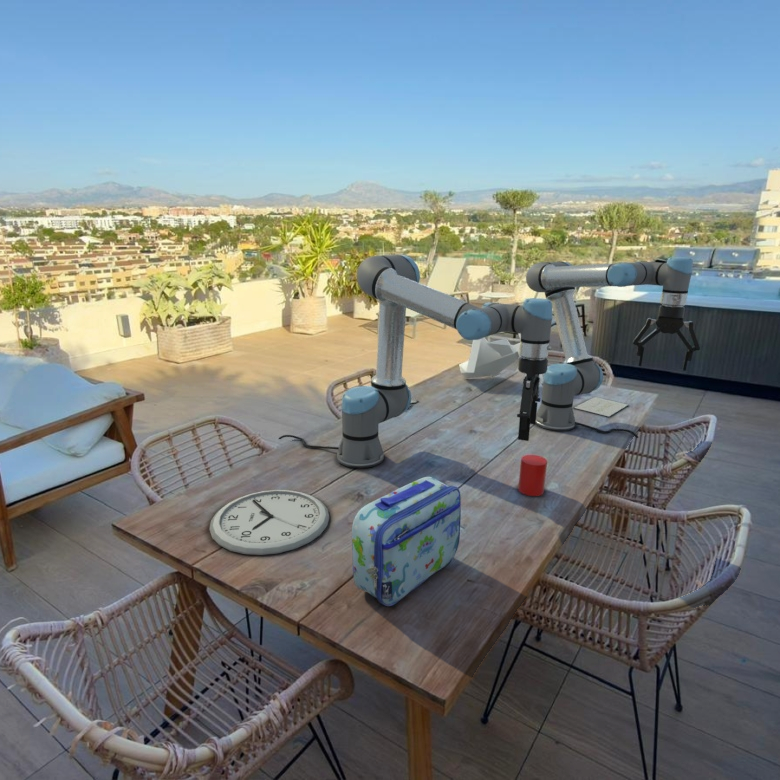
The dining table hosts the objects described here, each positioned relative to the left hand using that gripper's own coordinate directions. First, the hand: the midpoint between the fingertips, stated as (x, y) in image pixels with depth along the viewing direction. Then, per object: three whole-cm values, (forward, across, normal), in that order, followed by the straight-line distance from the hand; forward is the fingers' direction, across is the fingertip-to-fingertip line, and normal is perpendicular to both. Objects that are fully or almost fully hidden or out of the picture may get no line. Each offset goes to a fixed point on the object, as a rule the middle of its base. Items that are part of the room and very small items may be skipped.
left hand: (527, 431), depth 146 cm
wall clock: (+18, -42, +57) cm, 74 cm away
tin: (+19, +2, -2) cm, 19 cm away
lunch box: (+19, -50, +17) cm, 56 cm away
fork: (+18, +59, +56) cm, 83 cm away
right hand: (-9, +56, -36) cm, 67 cm away
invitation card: (+19, +92, -20) cm, 96 cm away
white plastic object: (+18, +105, +28) cm, 110 cm away
